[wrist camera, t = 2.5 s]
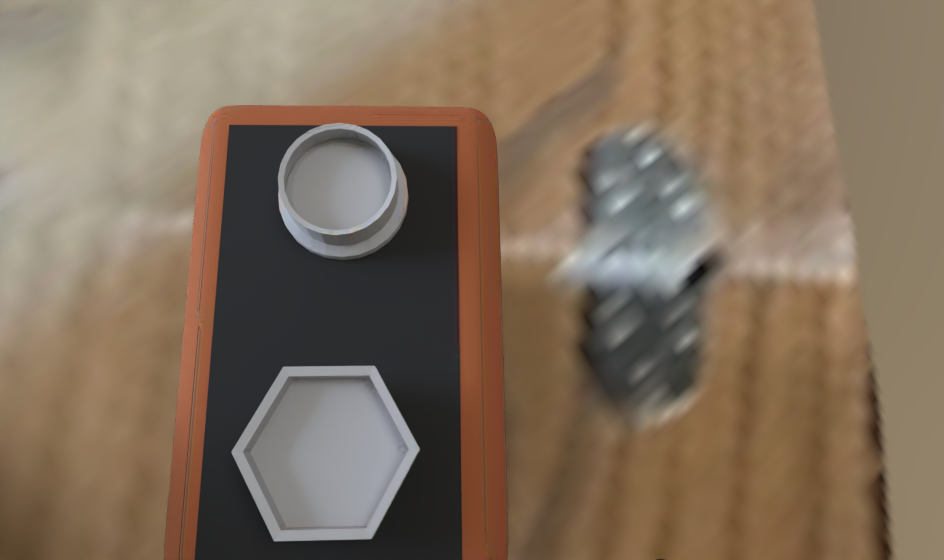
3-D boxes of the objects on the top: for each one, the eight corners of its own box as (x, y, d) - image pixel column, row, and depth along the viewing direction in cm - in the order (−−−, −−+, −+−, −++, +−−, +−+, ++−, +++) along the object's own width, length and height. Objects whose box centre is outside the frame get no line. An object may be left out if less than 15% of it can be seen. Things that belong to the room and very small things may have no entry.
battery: (298, 531, 17) (110, 629, 7) (310, 266, 19) (170, 57, 9) (475, 527, 17) (523, 616, 7) (471, 265, 19) (505, 60, 9)
